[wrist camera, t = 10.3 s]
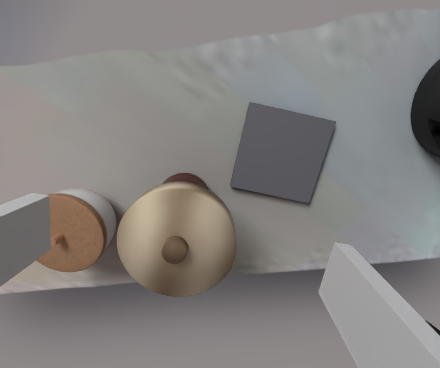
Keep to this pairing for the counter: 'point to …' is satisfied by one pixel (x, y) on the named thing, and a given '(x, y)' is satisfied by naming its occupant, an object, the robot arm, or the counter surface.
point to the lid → (177, 239)
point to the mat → (281, 152)
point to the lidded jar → (78, 229)
